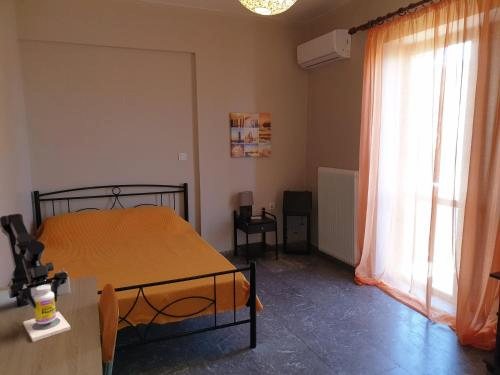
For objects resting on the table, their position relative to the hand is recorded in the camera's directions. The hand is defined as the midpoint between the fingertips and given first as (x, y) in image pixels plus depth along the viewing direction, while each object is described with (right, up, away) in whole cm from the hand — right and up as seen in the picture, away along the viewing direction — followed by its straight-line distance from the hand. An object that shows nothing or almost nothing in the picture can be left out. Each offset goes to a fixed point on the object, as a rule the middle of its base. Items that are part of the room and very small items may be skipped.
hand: (45, 304), depth 132 cm
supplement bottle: (-1, -7, +2) cm, 7 cm away
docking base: (-1, -9, +2) cm, 9 cm away
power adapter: (-10, -5, +32) cm, 34 cm away
